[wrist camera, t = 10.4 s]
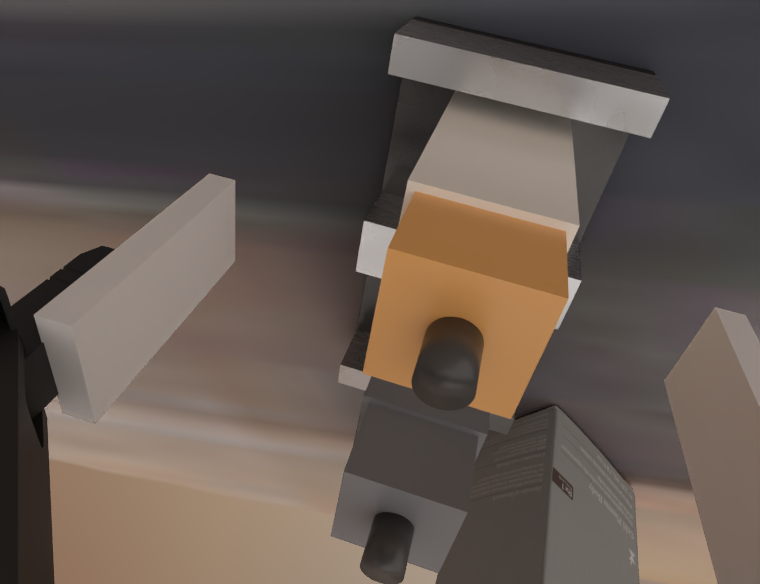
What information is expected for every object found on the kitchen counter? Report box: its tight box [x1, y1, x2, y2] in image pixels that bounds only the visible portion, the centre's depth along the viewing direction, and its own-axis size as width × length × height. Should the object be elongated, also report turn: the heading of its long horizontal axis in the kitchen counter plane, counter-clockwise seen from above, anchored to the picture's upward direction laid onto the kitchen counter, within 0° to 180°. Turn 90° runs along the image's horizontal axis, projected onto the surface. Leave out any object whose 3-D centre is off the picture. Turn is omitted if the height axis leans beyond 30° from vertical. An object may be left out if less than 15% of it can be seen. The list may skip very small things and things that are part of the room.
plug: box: [363, 91, 580, 419], centre depth 17 cm, size 4×4×14 cm
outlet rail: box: [338, 17, 670, 435], centre depth 24 cm, size 9×17×4 cm, turn 170°
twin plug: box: [331, 376, 490, 584], centre depth 22 cm, size 4×4×14 cm
